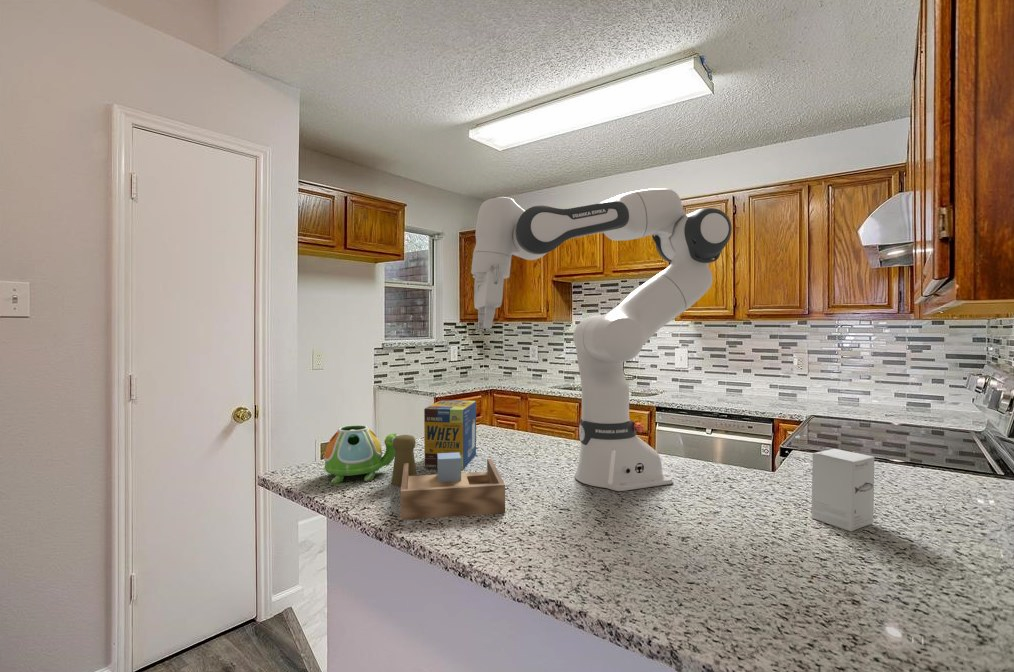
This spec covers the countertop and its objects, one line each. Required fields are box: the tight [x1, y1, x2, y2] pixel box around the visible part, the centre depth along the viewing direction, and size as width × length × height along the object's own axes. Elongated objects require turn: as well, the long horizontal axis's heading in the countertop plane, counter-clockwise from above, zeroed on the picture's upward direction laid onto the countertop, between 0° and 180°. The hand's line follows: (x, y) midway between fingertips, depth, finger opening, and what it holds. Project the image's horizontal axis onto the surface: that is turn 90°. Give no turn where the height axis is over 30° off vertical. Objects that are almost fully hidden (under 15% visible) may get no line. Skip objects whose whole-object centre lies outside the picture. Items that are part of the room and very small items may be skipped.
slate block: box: [437, 452, 462, 482], centre depth 110 cm, size 5×5×5 cm
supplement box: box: [811, 448, 875, 532], centre depth 91 cm, size 7×7×13 cm
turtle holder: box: [323, 424, 399, 484], centre depth 121 cm, size 12×18×12 cm
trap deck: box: [400, 458, 506, 521], centre depth 104 cm, size 20×19×6 cm
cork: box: [391, 434, 418, 488], centre depth 115 cm, size 6×6×11 cm
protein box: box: [423, 399, 477, 471], centre depth 133 cm, size 10×15×16 cm
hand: (484, 328), depth 112 cm, fingers open, 8 cm apart
